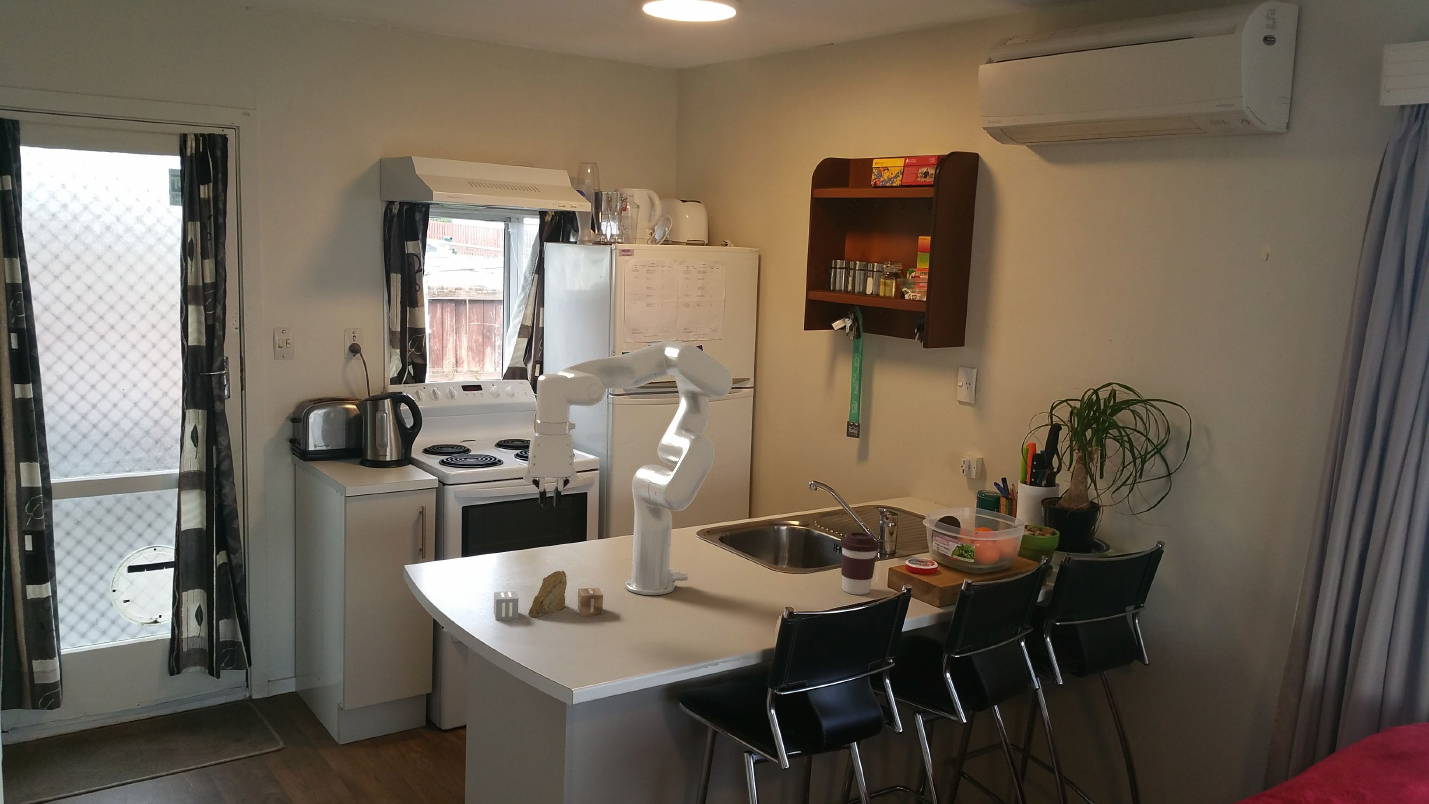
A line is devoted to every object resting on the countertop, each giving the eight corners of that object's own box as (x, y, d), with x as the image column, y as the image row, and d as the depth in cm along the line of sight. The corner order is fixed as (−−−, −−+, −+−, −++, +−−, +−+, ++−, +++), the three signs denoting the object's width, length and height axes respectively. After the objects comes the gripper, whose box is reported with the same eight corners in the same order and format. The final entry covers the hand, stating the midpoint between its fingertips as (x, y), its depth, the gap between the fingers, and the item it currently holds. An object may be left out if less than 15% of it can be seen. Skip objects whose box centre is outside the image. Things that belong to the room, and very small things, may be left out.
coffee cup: (882, 592, 271) (887, 536, 268) (860, 599, 263) (865, 542, 261) (851, 582, 277) (855, 527, 275) (829, 589, 270) (833, 533, 268)
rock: (533, 613, 234) (575, 602, 239) (523, 578, 237) (565, 568, 242) (525, 627, 243) (565, 616, 248) (515, 593, 246) (555, 583, 251)
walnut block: (598, 607, 247) (599, 587, 246) (602, 615, 242) (603, 594, 241) (577, 608, 246) (578, 588, 245) (581, 616, 241) (582, 595, 240)
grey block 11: (515, 611, 241) (516, 590, 241) (518, 619, 236) (518, 598, 236) (493, 612, 240) (494, 591, 239) (495, 620, 235) (496, 599, 234)
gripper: (584, 425, 242) (581, 502, 245) (515, 425, 238) (512, 503, 240) (590, 431, 235) (586, 510, 238) (518, 431, 231) (516, 511, 233)
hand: (549, 506), depth 239 cm, fingers closed
